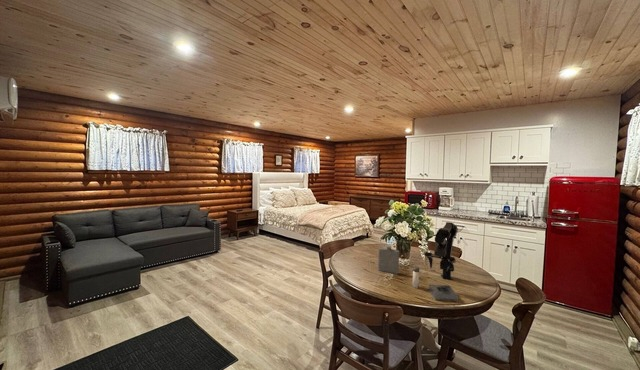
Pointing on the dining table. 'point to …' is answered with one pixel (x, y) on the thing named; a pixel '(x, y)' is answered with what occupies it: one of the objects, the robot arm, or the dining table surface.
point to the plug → (415, 277)
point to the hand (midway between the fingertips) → (438, 270)
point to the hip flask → (388, 260)
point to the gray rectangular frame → (443, 292)
